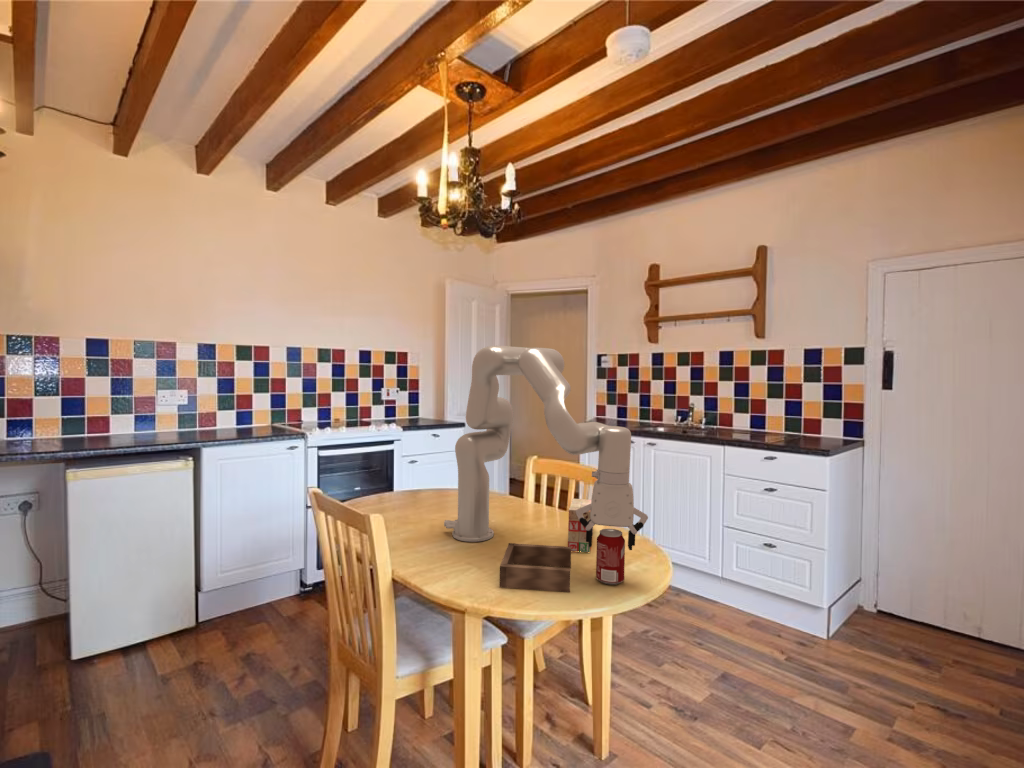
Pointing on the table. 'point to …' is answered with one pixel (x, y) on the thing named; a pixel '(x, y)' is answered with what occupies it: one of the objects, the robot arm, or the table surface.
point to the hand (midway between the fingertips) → (609, 546)
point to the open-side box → (536, 567)
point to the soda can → (610, 557)
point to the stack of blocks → (578, 527)
